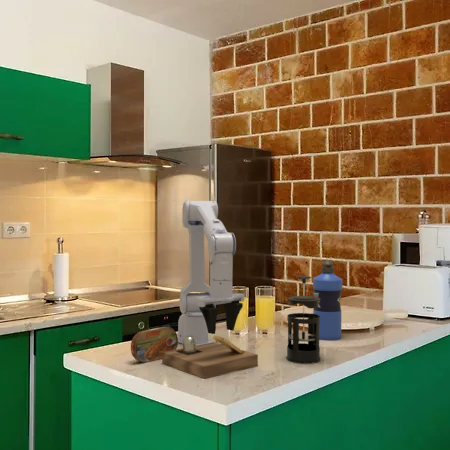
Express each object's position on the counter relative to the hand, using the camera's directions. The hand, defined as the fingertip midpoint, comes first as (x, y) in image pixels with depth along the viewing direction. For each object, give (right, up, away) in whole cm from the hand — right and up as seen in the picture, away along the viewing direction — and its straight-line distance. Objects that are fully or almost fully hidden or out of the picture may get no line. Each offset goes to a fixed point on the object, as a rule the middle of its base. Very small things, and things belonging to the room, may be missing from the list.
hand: (221, 331), depth 148 cm
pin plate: (-3, -9, +3) cm, 10 cm away
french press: (+23, -10, +10) cm, 27 cm away
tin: (-18, -9, +9) cm, 22 cm away
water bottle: (+34, -9, +36) cm, 51 cm away
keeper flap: (+2, -4, +2) cm, 5 cm away
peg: (-8, -9, +5) cm, 13 cm away
